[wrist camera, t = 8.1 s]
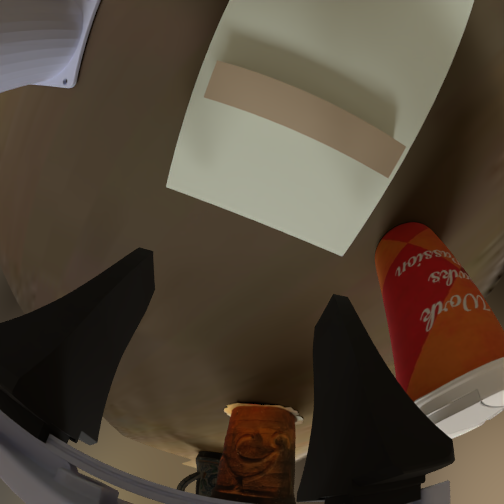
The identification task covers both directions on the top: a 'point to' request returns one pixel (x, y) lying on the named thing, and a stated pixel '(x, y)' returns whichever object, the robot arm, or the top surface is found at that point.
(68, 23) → the robot arm
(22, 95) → the top surface
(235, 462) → the vessel
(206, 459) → the beer stein
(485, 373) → the paper cup
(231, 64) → the lid
